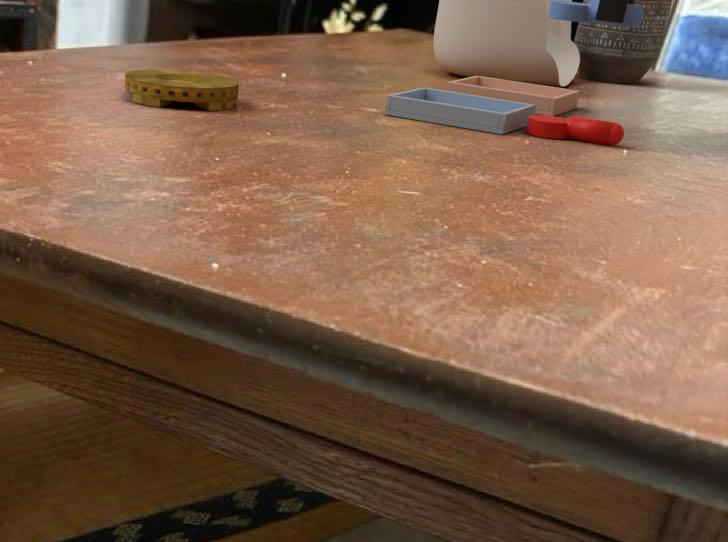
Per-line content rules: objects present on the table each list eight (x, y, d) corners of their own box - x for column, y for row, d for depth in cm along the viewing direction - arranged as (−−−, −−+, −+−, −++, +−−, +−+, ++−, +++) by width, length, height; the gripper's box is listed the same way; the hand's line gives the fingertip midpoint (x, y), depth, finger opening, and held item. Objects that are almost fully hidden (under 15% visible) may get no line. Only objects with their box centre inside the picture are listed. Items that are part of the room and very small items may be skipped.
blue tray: (532, 124, 121) (536, 104, 120) (502, 134, 114) (506, 114, 113) (419, 105, 127) (422, 87, 126) (384, 114, 119) (387, 94, 118)
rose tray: (576, 108, 135) (580, 90, 134) (552, 116, 127) (556, 98, 126) (472, 92, 141) (476, 75, 140) (444, 99, 133) (447, 81, 132)
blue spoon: (645, 28, 117) (651, 5, 116) (635, 29, 114) (641, 6, 113) (554, 16, 122) (559, -6, 120) (542, 17, 118) (547, -6, 117)
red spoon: (625, 144, 114) (631, 122, 113) (615, 149, 111) (621, 126, 110) (532, 129, 118) (537, 107, 117) (520, 133, 115) (524, 111, 114)
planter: (643, 88, 158) (668, -10, 152) (558, 76, 163) (579, -20, 157) (657, 81, 167) (682, -12, 161) (576, 70, 172) (597, -21, 166)
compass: (230, 95, 123) (232, 74, 122) (243, 113, 113) (245, 91, 112) (123, 87, 122) (124, 66, 121) (125, 105, 112) (126, 83, 111)
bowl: (447, 63, 167) (462, -24, 161) (577, 80, 160) (597, -10, 154) (410, 75, 151) (426, -21, 145) (553, 95, 144) (575, -5, 138)
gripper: (655, -238, 113) (596, 14, 124) (618, -261, 101) (556, 19, 113) (733, -236, 109) (664, 22, 121) (703, -260, 98) (630, 28, 109)
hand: (612, 20), depth 117 cm, fingers closed on blue spoon, 2 cm apart
